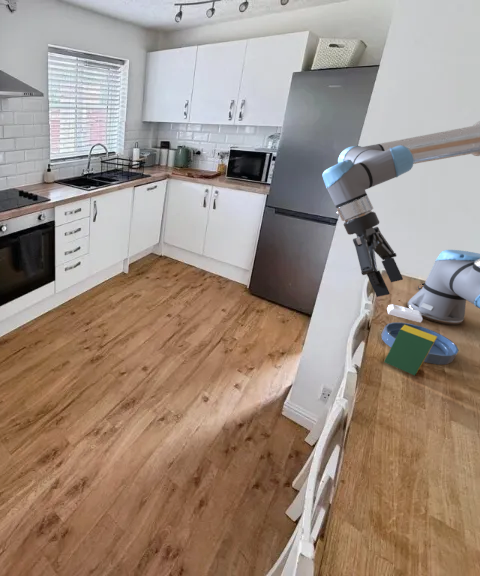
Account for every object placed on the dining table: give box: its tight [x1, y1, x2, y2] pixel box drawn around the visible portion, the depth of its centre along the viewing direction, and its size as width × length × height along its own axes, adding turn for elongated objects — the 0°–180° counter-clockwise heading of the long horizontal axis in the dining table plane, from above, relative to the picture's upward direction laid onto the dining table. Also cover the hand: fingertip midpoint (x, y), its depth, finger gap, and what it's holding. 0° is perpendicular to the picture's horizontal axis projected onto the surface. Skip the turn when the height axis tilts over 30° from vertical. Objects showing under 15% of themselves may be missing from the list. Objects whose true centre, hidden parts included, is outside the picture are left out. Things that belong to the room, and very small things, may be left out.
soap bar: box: [386, 303, 424, 323], centre depth 126 cm, size 5×9×3 cm, turn 57°
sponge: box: [383, 325, 437, 376], centre depth 98 cm, size 4×7×11 cm, turn 40°
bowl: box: [381, 321, 459, 365], centre depth 108 cm, size 17×17×4 cm
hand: (390, 287), depth 100 cm, fingers open, 13 cm apart
